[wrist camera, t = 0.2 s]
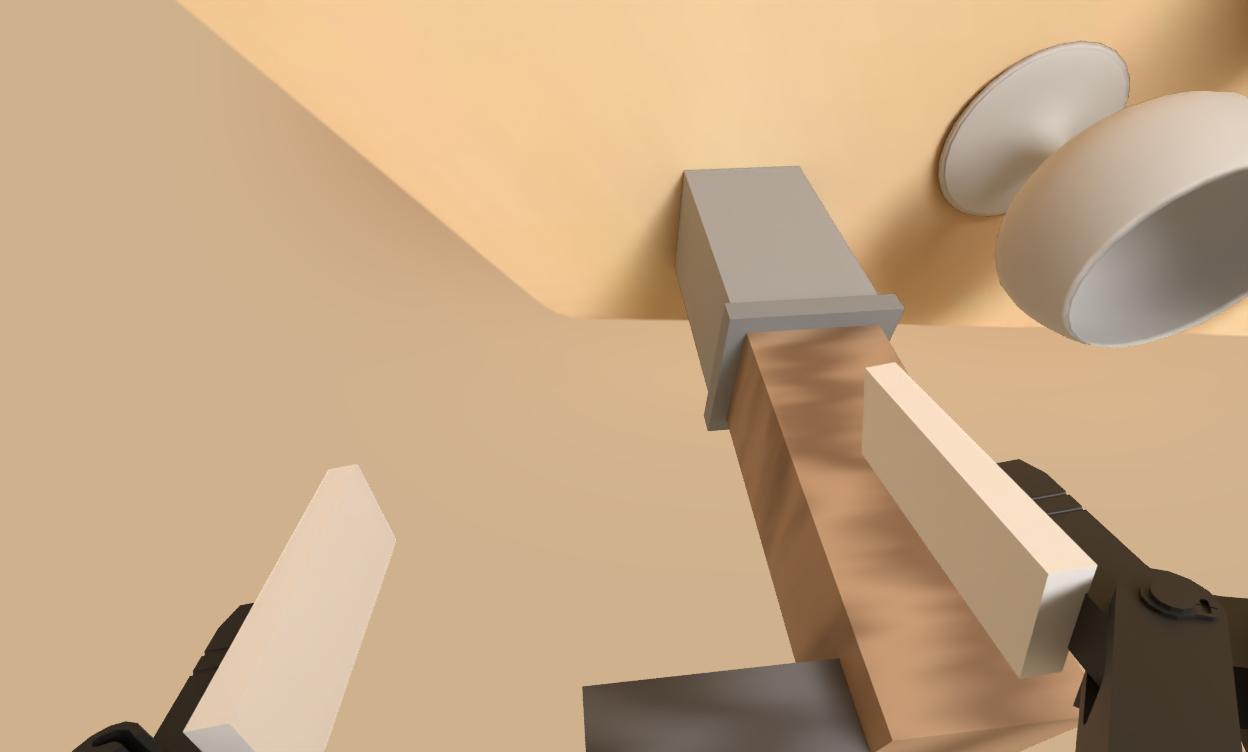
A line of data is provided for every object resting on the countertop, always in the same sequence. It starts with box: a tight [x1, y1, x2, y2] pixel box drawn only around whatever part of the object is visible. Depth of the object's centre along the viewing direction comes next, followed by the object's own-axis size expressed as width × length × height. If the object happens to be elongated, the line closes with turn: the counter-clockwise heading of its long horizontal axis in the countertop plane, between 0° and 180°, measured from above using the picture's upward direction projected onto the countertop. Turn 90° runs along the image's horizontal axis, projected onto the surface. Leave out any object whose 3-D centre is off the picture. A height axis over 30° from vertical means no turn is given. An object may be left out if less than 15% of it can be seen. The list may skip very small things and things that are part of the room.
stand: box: [675, 166, 905, 431], centre depth 38 cm, size 9×9×16 cm
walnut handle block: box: [582, 325, 1084, 752], centre depth 26 cm, size 16×7×18 cm, turn 89°
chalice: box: [938, 41, 1248, 348], centre depth 36 cm, size 14×14×15 cm
